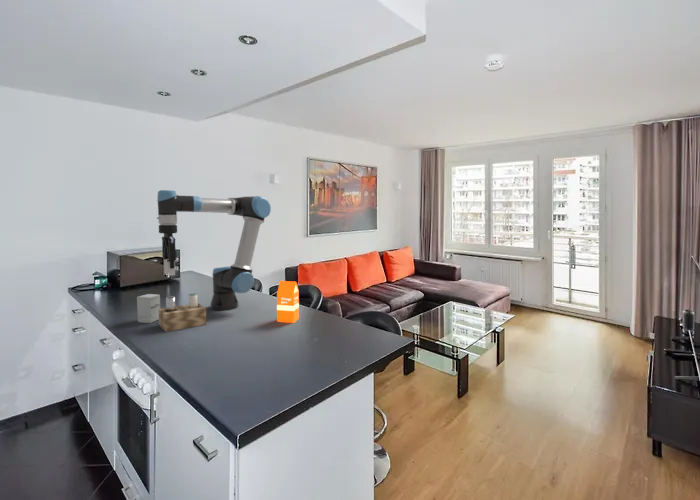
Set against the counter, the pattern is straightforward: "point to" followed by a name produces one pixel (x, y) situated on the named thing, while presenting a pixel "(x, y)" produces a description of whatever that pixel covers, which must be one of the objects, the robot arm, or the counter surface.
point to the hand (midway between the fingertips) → (169, 274)
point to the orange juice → (287, 302)
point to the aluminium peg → (170, 304)
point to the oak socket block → (182, 317)
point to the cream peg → (193, 300)
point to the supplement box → (148, 308)
